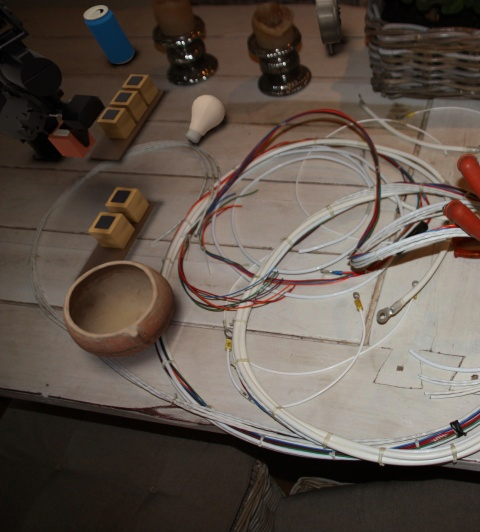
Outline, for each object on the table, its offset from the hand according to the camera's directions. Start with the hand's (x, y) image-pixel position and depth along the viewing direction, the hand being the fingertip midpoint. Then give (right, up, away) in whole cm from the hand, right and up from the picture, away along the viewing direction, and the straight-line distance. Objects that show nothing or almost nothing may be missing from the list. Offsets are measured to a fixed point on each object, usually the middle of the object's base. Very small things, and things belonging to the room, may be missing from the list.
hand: (76, 144), depth 100 cm
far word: (0, +9, +19) cm, 21 cm away
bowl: (+17, -32, -11) cm, 38 cm away
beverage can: (-9, +29, +34) cm, 46 cm away
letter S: (0, 0, +1) cm, 1 cm away
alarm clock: (+45, +30, +28) cm, 60 cm away
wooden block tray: (+8, -17, 0) cm, 19 cm away
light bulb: (+19, +7, +15) cm, 25 cm away
